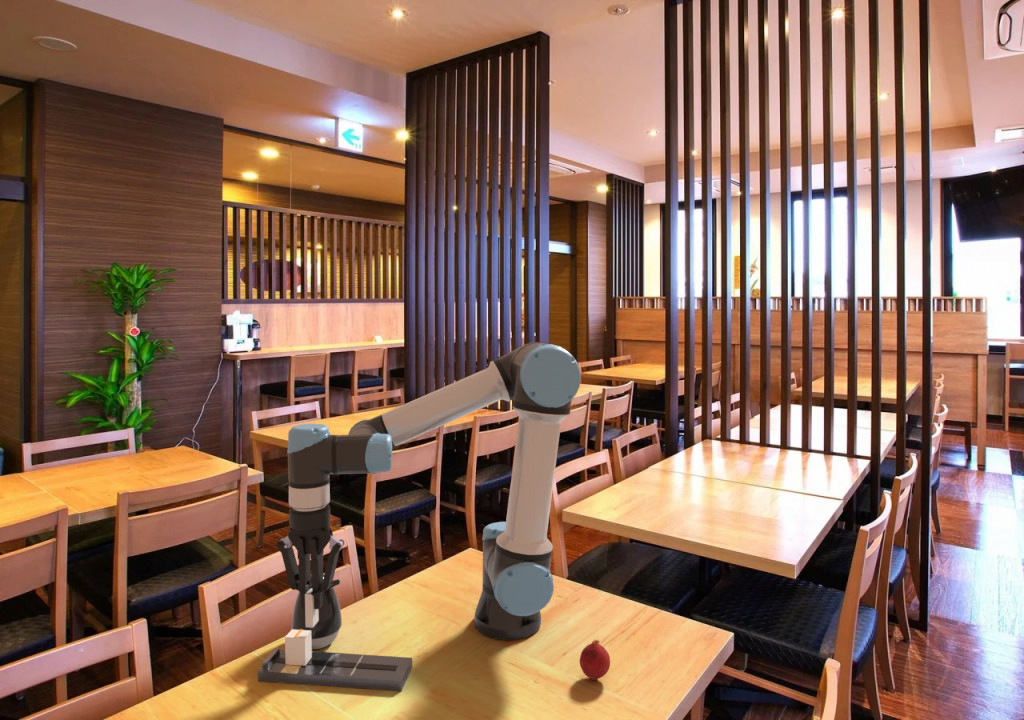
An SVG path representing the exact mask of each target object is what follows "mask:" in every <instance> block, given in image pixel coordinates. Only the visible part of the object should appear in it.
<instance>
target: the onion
mask: <svg viewBox="0 0 1024 720" xmlns="http://www.w3.org/2000/svg"><path fill="white" fill-rule="evenodd" d="M579 656H580V657H579V665H580V668H581V671H582V673H583V674H584V675H585V676H586V677H587V678H589V679H590V680H593V681H597V680H599V679H601V678H603V677H604V676H605V675H606V674H607V673H608V671H609V670H610V667H611V658H610V653H609V652H608V651H607V649H606V648H605V647H604V646H603V645H602V644H600V640H599V639H598V638H595V639H593V640H592V642H591V643H589V644H588V645H586V646H585V647H584V648H583V649H582V651H581V653H580V655H579Z"/></svg>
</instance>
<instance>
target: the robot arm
mask: <svg viewBox="0 0 1024 720" xmlns="http://www.w3.org/2000/svg"><path fill="white" fill-rule="evenodd" d="M581 376H582V375H581V369H580V365H579V363H578V361H577V359H576V358H575V357H574V356H573V355H572V354H571V353H570V352H569V351H567V350H566V348H564V347H562V346H560V345H555V344H552V343H545V342H542V341H540V342H539V341H532V342H529V343H526V344H523V345H521V346H519V347H518V348H515V349H514V350H511V351H510V352H508V353H506V354H504V355H502V356H500V357H498V358H496V359H494V360H491V361H490V362H489V366H488V367H487V368H484V369H482V370H480V371H478V372H475V373H473V374H470V375H469V376H466V377H464V378H461V379H459V380H457V381H455V382H453V383H450V384H448V385H446V386H444V387H441V388H439V389H436V390H434V391H432V392H429V393H427V394H424V395H423V396H420V397H418V398H416V399H414V400H411V401H408V402H407V403H404V404H402V405H400V406H397V407H395V408H393V409H391V410H388V411H386V412H383V413H382V414H379V415H377V416H374V417H373V418H370V419H361V420H360V421H357V423H354V424H353V426H352V427H350V430H349V431H348V434H331V433H330V430H329V427H328V425H327V424H323V423H302V424H298V425H295V426H292V427H291V428H290V429H289V430H288V434H287V435H288V436H287V437H288V438H287V451H286V453H287V469H288V470H287V471H288V472H287V473H288V506H289V509H288V519H289V520H288V522H289V523H288V524H289V530H288V532H287V536H285V537H283V536H282V538H280V540H278V541H277V542H276V544H275V545H276V547H277V549H278V550H279V552H280V553H281V557H282V561H283V565H284V568H285V573H286V575H287V581H288V583H289V588H290V589H291V590H292V591H298V593H299V592H300V594H301V608H303V609H305V623H306V627H312V628H313V627H314V626H315V625H316V623H317V622H318V621H319V615H318V609H320V607H321V606H322V604H323V599H322V598H323V595H322V591H327V590H328V588H329V587H330V586H331V585H332V582H333V580H334V577H335V573H336V568H337V563H338V559H339V554H340V551H341V550H342V548H343V546H344V545H345V540H344V539H338V538H337V537H335V536H334V535H333V534H334V533H333V531H332V528H331V506H330V504H329V503H330V502H331V493H330V492H331V491H330V487H331V486H330V485H331V484H330V481H331V479H330V475H356V474H359V475H360V474H372V475H375V474H379V473H388V472H390V471H391V469H392V468H393V448H396V447H397V446H400V445H402V444H403V443H406V442H409V441H410V440H413V439H415V438H417V437H419V436H422V435H423V434H424V435H425V434H426V433H429V432H431V431H434V430H435V429H437V428H440V427H442V426H445V425H447V424H450V423H452V422H454V421H456V420H458V419H460V418H463V417H464V416H467V415H469V414H472V413H474V412H476V411H478V410H481V409H483V408H485V407H488V406H491V405H492V404H495V403H497V402H498V401H502V400H503V401H505V402H511V401H513V403H512V409H513V410H514V411H515V412H516V414H517V415H518V420H517V421H518V423H517V430H516V431H517V432H516V438H515V445H514V456H513V463H512V469H511V470H512V471H511V478H510V479H511V481H510V488H509V495H508V503H507V510H506V511H507V513H506V518H505V519H506V521H498V522H492V523H489V524H488V525H486V526H485V527H484V528H483V530H482V531H483V533H482V538H481V540H482V589H481V593H480V596H479V600H478V602H477V606H476V608H475V611H474V626H475V629H476V630H477V631H478V632H479V633H480V634H481V635H484V636H486V637H488V638H491V639H497V640H507V641H511V640H520V638H521V639H524V637H525V638H527V636H528V637H531V636H532V635H534V634H536V633H537V632H538V631H539V630H540V628H541V626H542V613H541V610H542V609H544V608H545V607H547V605H548V604H549V603H550V601H551V599H552V597H553V595H554V591H555V589H554V588H555V583H554V578H553V575H552V573H551V563H552V554H553V547H554V546H553V544H552V542H551V541H550V539H548V534H547V533H548V528H549V520H550V514H551V513H550V512H551V505H552V496H553V491H554V490H553V489H554V479H555V473H556V467H557V466H556V465H557V456H558V451H559V442H560V436H561V435H560V434H561V428H562V427H561V426H562V422H563V421H564V420H566V418H568V417H569V416H570V415H571V408H572V401H573V399H574V397H575V396H576V395H577V394H578V392H579V389H580V385H581V381H582V377H581ZM328 544H329V546H328V548H329V552H328V553H329V554H328V557H327V560H326V566H325V569H324V559H323V558H324V550H325V548H326V546H327V545H328ZM293 546H294V547H293ZM294 548H295V550H297V553H296V554H297V558H296V554H295V551H294ZM297 560H298V563H297ZM311 574H312V584H311V585H312V588H311V589H310V590H309V588H310V587H311V585H310V575H311ZM323 574H324V578H323ZM540 625H541V626H540ZM538 629H539V630H538ZM537 630H538V631H537ZM536 631H537V632H536ZM535 632H536V633H535ZM533 633H534V634H533ZM531 634H532V635H531Z"/></svg>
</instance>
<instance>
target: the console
mask: <svg viewBox="0 0 1024 720" xmlns="http://www.w3.org/2000/svg"><path fill="white" fill-rule="evenodd" d="M412 669H413V657H407V656H406V657H405V656H390V655H389V656H388V655H375V654H374V655H373V654H362V653H361V654H360V653H359V654H358V653H345V652H344V653H342V652H331V651H330V652H329V651H328V652H327V651H326V652H325V651H313V650H312V658H311V659H310V660H309V662H308V663H307V664H306V666H302V665H288V664H285V648H284V649H283V648H280V647H279V648H277V647H274V648H273V649H272V651H271V652H270V653H269V654H268V655H267V656H266V657H265V658H264V660H263V661H262V666H261V667H260V668H259V669H258V671H257V681H258V682H265V681H266V683H277V682H285V683H284V684H291V683H293V684H294V683H295V684H294V685H305V686H306V685H308V686H319V687H320V686H322V687H335V688H351V689H363V690H375V691H377V690H380V691H389V692H390V691H391V692H403V689H404V687H405V685H406V683H407V681H408V677H409V676H410V673H411V672H412Z"/></svg>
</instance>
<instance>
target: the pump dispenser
mask: <svg viewBox="0 0 1024 720" xmlns="http://www.w3.org/2000/svg"><path fill="white" fill-rule="evenodd" d="M324 574H325V573H323V578H324ZM311 584H312V573H310V585H311ZM340 584H341V581H340V579H333V582H332V585H331V586H330V587H329V588H328V590H327V591H322V595H323V598H322V599H323V604H322V606H321V607H320V609H318V615H319V621H318V622H317V623H316V625H315V626H314V627H313V628H312V627H306V623H305V609H303V608H301V594H300V592H299V591H298V594H297V597H296V599H295V603H294V607H293V611H292V619H291V630H292V629H294V630H300V629H303V630H310V631H311V641H312V650H319V649H323V648H326V647H328V646H329V645H331V644H332V643H333V642H334V641H335V640H336V638H337V637H338V635H339V632H340V630H341V627H342V625H343V624H342V623H343V621H342V612H341V611H342V610H341V606H340V601H339V599H338V595H337V593H336V589H335V587H336V586H339V585H340ZM311 588H312V585H311V587H310V588H309V590H310V589H311Z"/></svg>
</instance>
